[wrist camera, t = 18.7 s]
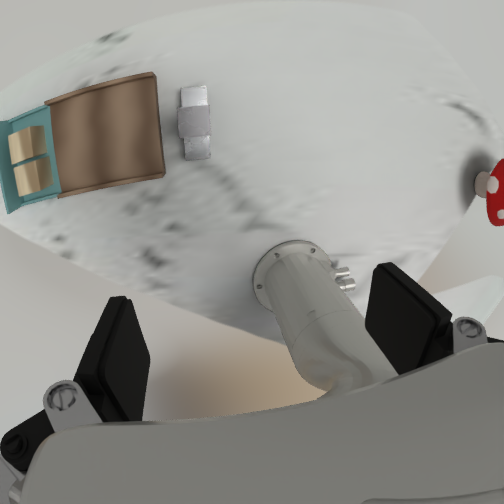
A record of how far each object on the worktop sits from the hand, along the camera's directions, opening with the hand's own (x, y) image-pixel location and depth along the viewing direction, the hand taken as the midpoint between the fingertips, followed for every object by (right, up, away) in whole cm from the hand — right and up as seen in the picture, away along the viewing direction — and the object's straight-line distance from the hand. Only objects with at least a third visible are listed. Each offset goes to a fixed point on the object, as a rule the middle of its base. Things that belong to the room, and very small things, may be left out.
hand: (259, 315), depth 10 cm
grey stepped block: (-7, +18, +23) cm, 30 cm away
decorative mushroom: (+46, +17, +34) cm, 60 cm away
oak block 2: (-27, +13, +19) cm, 36 cm away
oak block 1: (-28, +17, +17) cm, 37 cm away
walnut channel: (-19, +17, +21) cm, 33 cm away
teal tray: (-30, +16, +20) cm, 39 cm away
